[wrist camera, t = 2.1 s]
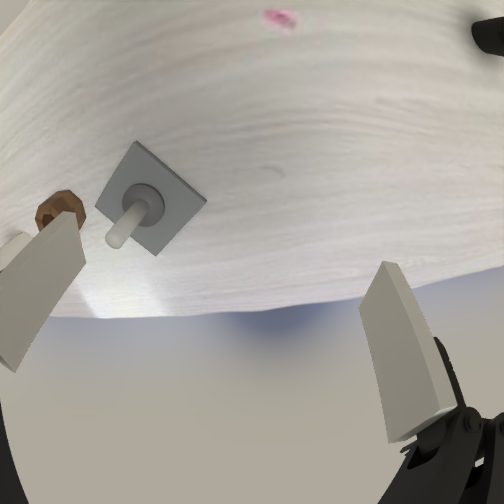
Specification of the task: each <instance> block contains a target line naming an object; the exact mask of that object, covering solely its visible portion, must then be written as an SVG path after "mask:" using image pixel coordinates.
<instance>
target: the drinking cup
mask: <svg viewBox="0 0 504 504" xmlns="http://www.w3.org/2000/svg"><path fill="white" fill-rule="evenodd" d="M472 35H473V38H474V40H475V42H476V44H477V45H478V47H479V48H480V49H481V50H482V51H484V52H486V53H489V54H494V55H498V56H503V57H504V17H498V18H493V19H488V20H483V21H479V22H475V23H474V24H473V25H472Z"/></svg>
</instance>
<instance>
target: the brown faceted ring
mask: <svg viewBox="0 0 504 504" xmlns="http://www.w3.org/2000/svg"><path fill="white" fill-rule="evenodd" d="M63 211H66V212H73V213H76V219H77V224H78V229H79V230H80V229H81V227H82V225H83V223H84V221H85V219H86V215H85V211H84V208H83V204H82V201H81V200H80V199H79V198H78V197H77V196H75V195H74V194H73V193H72V192H71V191H70V190H65V191H58V192H56V193H55V194H54V195H52V196H51V197H50V198H48V199H47V200H46V201H44V202H43V203H42V204H41V205H39V206H38V210H37V213H36V216H35V221H36V223H37V226H38V229H39V231H40V232H41V231H42V230H43V229H44V228H45V227H46V226H47V225H48V224H49V223H50V222H51V221H53V220H54V219H55V218H56V217H57V216H58V215H59V214H61V213H62V212H63Z"/></svg>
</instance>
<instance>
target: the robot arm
mask: <svg viewBox="0 0 504 504" xmlns="http://www.w3.org/2000/svg"><path fill="white" fill-rule="evenodd" d="M85 264H86V260H85V256H84V252H83V248H82V243H81V239H80V234H79V229H78V224H77V219H76V213H73V212H66V211H63V212H62V213H61V214H59V215H58V216H57V217H56V218H55V219H54V220H53V221H51V222H50V223H49V224H48V225H47V226H46V227H45V228H44V229H43V230H42V231H41V232H39V233H38V234H37V235H36V236H35V237H34V238H33V239H32V240H31V241H30V242H29V243H28V244H27V245H26V246H25V247H24V248H23V249H22V250H21V251H20V252H19V253H18V254H17V255H16V256H15V257H14V259H13V260H12V261H11V262H10V263H9V264H8V265H7V266H6V267H5V268H4V269H3V270H1V271H0V362H1V363H2V364H3V365H4V366H5V367H7V368H8V369H10V370H11V371H13V372H14V373H15V372H16V370H17V368H18V366H19V365H20V363H21V361H22V359H23V357H24V356H25V354H26V352H27V350H28V348H29V347H30V345H31V343H32V342H33V340H34V338H35V337H36V335H37V333H38V332H39V330H40V328H41V327H42V325H43V324H44V322H45V321H46V319H47V317H48V316H49V314H50V313H51V311H52V310H53V308H54V307H55V305H56V304H57V302H58V301H59V299H60V298H61V297H62V295H63V294H64V292H65V291H66V290H67V288H68V287H69V285H70V284H71V283H72V281H73V280H74V279H75V277H76V276H77V275H78V273H79V272H80V271H81V269H82V268H83V267H84V265H85ZM359 311H360V315H361V318H362V322H363V326H364V329H365V333H366V337H367V341H368V345H369V349H370V353H371V357H372V361H373V365H374V369H375V374H376V378H377V383H378V387H379V392H380V397H381V402H382V407H383V413H384V418H385V424H386V430H387V437H388V443H389V444H390V443H395V442H400V441H405V440H407V439H409V438H411V437H412V436H414V435H417V440H416V441H414V442H413V443H411V444H409V445H407V446H405V447H403V448H402V450H401V451H400V453H403V452H405V451H407V450H409V449H410V450H409V452H407V453H406V454H405V456H406V458H405V460H404V461H403V463H402V465H401V467H400V469H399V471H398V472H397V474H396V476H395V477H394V479H393V480H392V482H391V484H390V485H389V487H388V489H387V490H386V492H385V493H384V495H383V496H382V498H381V499H380V501H379V502H378V504H504V412H503V413H500V414H499V415H498V416H496V417H495V418H494V419H486V418H481V416H480V414H479V412H478V411H477V410H476V409H474V408H472V407H466V404H465V402H464V399H463V395H462V392H461V389H460V387H459V383H458V380H457V378H456V375H455V372H454V371H453V367H452V364H451V362H450V361H449V357H448V354H447V352H446V349H445V347H444V346H443V344H442V343H441V342H440V341H439V339H438V338H437V337H433V336H432V333H431V331H430V329H429V327H428V325H427V322H426V320H425V318H424V316H423V313H422V311H421V309H420V307H419V305H418V303H417V301H416V299H415V297H414V294H413V292H412V290H411V288H410V286H409V285H408V283H407V281H406V279H405V277H404V275H403V273H402V271H401V269H400V267H399V266H398V264H397V263H392V262H386V261H382V263H381V265H380V267H379V269H378V272H377V274H376V276H375V278H374V279H373V281H372V283H371V285H370V287H369V289H368V291H367V293H366V295H365V297H364V299H363V300H362V303H361V304H360V306H359ZM483 457H484V462H483V464H482V465H480V466H478V467H475V461H477V460H479V459H481V458H483ZM0 504H29V503H28V500H27V498H26V496H25V493H24V490H23V488H22V485H21V483H20V480H19V477H18V475H17V471H16V468H15V465H14V462H13V458H12V455H11V451H10V447H9V443H8V439H7V435H6V430H5V426H4V421H3V416H2V410H1V403H0Z"/></svg>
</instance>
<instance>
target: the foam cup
mask: <svg viewBox="0 0 504 504" xmlns="http://www.w3.org/2000/svg"><path fill="white" fill-rule="evenodd" d="M32 239H33V237H32V236H31V235H30V234H28V233H26V232H23V233H21V234H19V235H17V236H16V237H15V238H13V239H12V240H10V241H9V242H8V243H6V244H5V245H3V246H2V247H1V248H0V271H1V270H3V269H4V268H5V267H6V266H7V265H8V264H9V263H10V262H11V261H12V260H13V259H14V257H15V256H16V255H17V254H18V253H19V252H20V251H21V250H22V249H23V248H24V247H25V246H26V245H27V244H28V243H29V242H30V241H31V240H32Z"/></svg>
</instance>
